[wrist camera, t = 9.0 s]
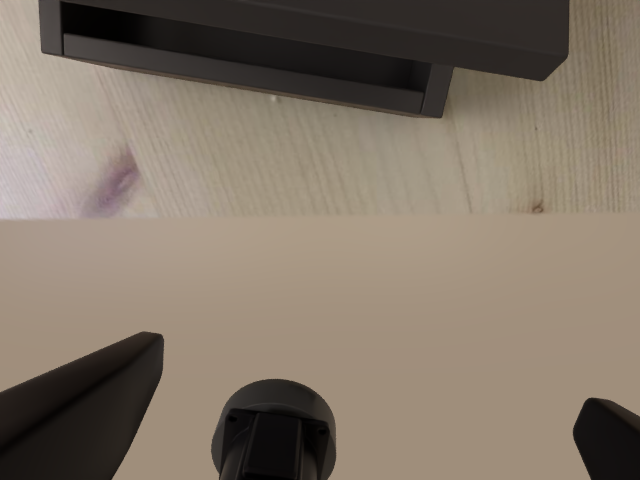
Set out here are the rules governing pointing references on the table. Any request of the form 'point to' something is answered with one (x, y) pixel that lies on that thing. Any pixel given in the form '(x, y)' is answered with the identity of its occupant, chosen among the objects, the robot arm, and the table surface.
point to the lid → (394, 27)
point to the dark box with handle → (243, 60)
